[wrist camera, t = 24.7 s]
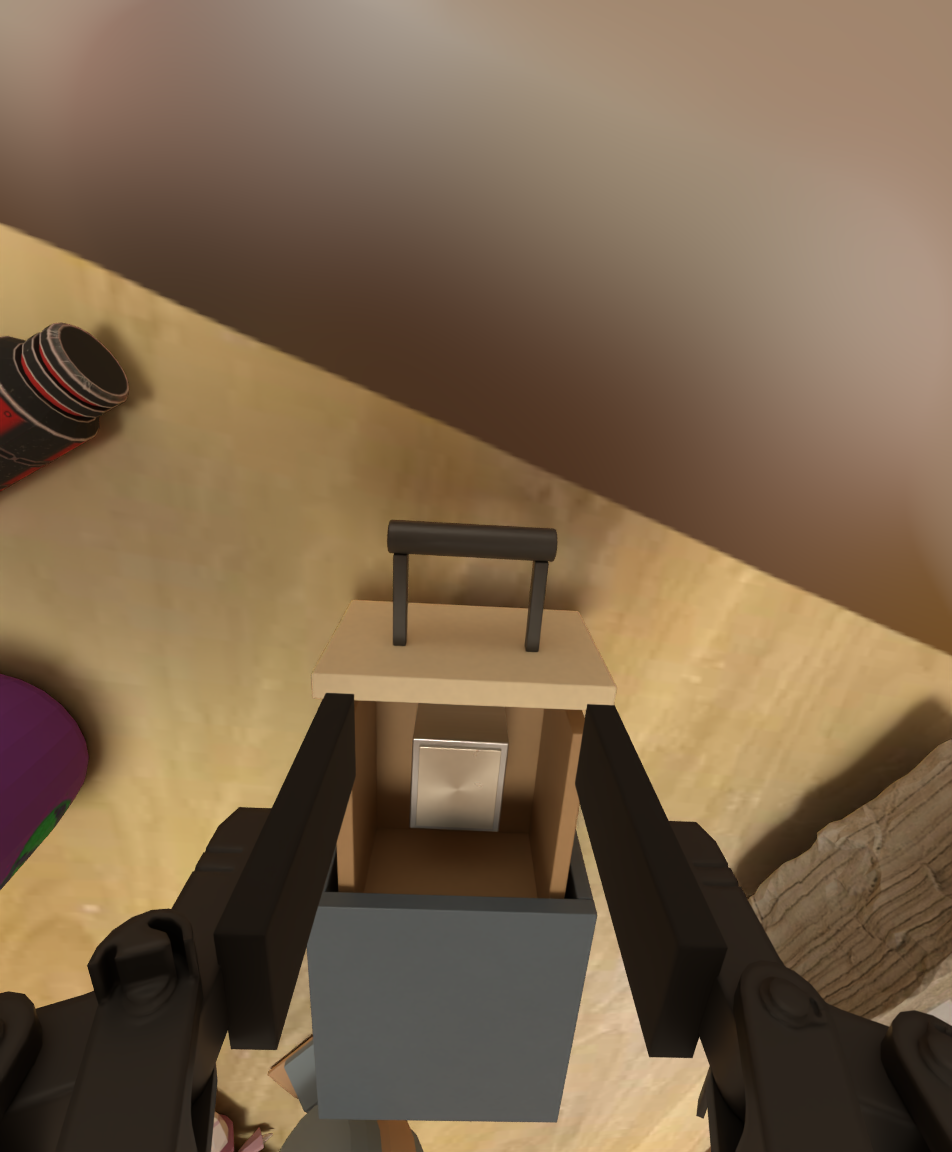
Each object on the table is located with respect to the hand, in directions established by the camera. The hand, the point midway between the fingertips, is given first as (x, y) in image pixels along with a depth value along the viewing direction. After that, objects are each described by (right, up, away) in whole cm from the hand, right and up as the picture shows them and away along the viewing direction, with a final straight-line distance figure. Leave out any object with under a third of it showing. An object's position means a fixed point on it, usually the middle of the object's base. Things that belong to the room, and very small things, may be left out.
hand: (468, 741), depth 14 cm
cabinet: (-2, -15, +21) cm, 26 cm away
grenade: (-16, +15, +8) cm, 24 cm away
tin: (-1, -4, +15) cm, 16 cm away
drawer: (-1, -2, +15) cm, 16 cm away
